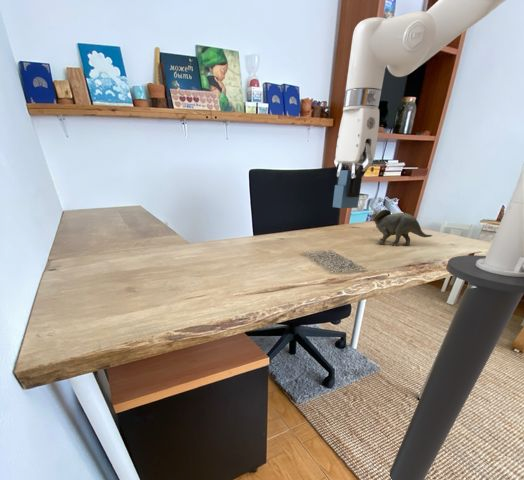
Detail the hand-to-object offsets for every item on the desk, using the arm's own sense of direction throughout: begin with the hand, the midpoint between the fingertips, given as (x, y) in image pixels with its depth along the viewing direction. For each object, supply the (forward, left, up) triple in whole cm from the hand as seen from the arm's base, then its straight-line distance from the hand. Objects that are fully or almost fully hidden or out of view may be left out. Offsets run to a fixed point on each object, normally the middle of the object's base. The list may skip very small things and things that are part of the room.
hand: (346, 194), depth 75 cm
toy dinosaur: (+12, -30, -17) cm, 37 cm away
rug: (0, +2, -17) cm, 17 cm away
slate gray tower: (0, 0, -3) cm, 3 cm away
